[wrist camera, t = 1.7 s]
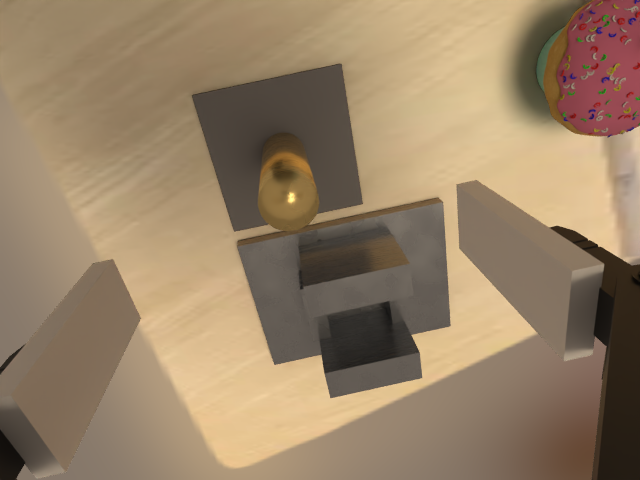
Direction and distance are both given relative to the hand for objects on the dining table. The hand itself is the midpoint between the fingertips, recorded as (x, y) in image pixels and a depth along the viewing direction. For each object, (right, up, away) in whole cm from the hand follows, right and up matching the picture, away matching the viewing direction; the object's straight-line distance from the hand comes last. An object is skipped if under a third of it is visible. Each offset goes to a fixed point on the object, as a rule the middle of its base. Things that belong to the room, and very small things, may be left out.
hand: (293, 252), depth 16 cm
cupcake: (+19, +13, +13) cm, 26 cm away
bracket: (+4, -3, +19) cm, 20 cm away
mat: (-2, +7, +14) cm, 16 cm away
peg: (-2, +7, +13) cm, 15 cm away
